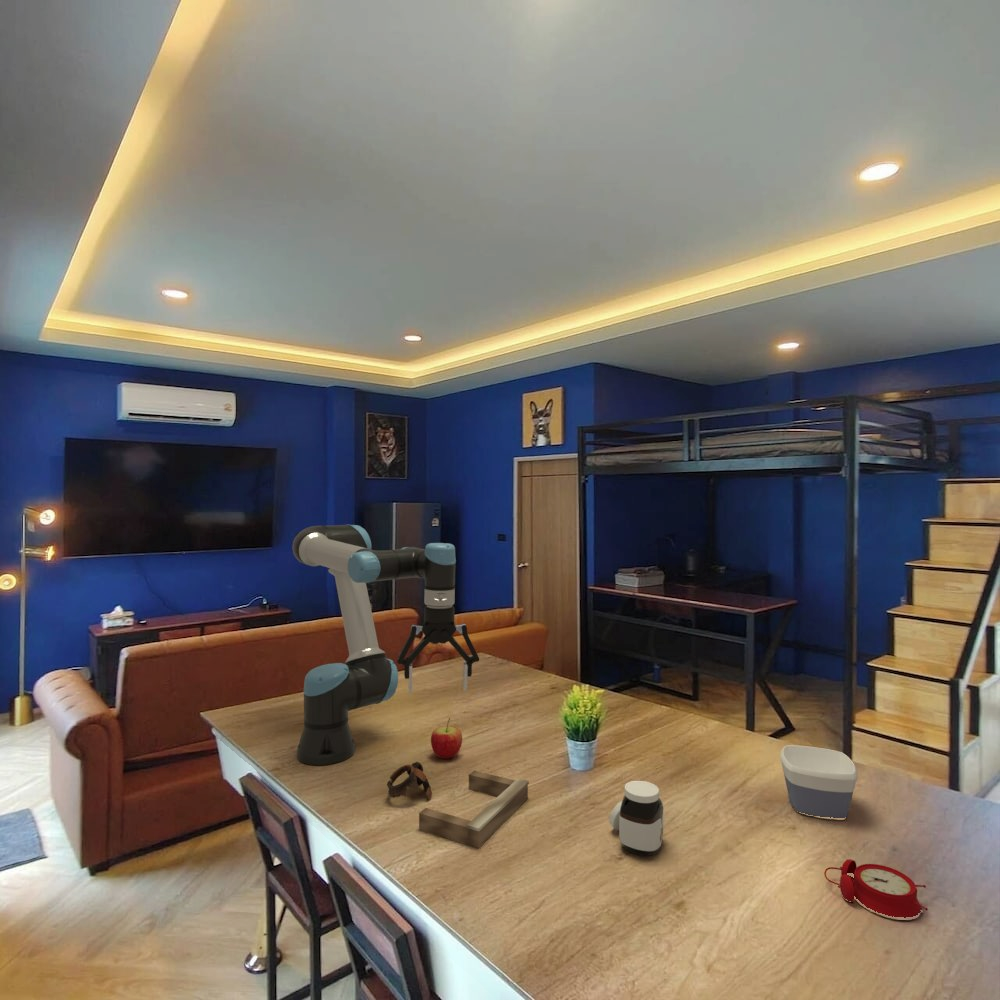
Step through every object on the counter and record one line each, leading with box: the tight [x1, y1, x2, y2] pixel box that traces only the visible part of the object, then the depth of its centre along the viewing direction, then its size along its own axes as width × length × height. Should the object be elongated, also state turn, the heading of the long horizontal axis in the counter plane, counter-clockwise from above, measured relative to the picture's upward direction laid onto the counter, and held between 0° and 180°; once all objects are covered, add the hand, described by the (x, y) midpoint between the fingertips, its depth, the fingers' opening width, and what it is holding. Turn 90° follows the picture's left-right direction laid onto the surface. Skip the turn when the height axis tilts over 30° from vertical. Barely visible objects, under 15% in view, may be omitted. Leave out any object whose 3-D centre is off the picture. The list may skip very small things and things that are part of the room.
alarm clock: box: [823, 859, 928, 918], centre depth 107 cm, size 10×6×15 cm
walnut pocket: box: [418, 770, 530, 849], centre depth 136 cm, size 15×23×4 cm, turn 152°
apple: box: [430, 717, 463, 760], centre depth 166 cm, size 8×8×10 cm
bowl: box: [780, 744, 859, 818], centre depth 139 cm, size 15×15×11 cm
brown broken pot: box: [386, 761, 433, 802], centre depth 144 cm, size 12×10×8 cm
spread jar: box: [608, 780, 664, 857], centre depth 125 cm, size 12×11×12 cm
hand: (437, 690), depth 153 cm, fingers open, 13 cm apart
